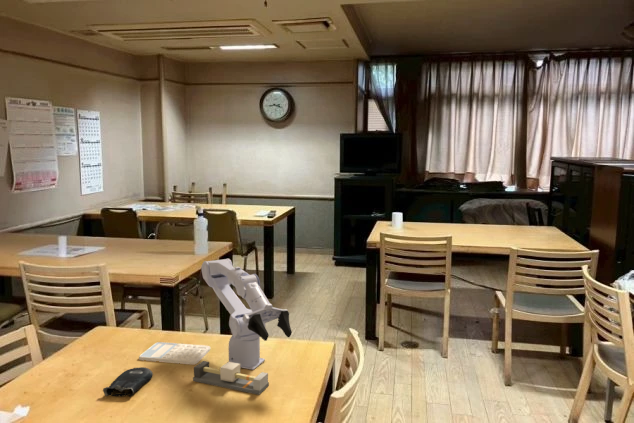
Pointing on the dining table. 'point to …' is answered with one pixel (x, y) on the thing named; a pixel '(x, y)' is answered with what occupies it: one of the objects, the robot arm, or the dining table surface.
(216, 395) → the dining table surface
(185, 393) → the dining table surface
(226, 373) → the beige sliding bead
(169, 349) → the calculator
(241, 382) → the cord board
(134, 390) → the electronic device
